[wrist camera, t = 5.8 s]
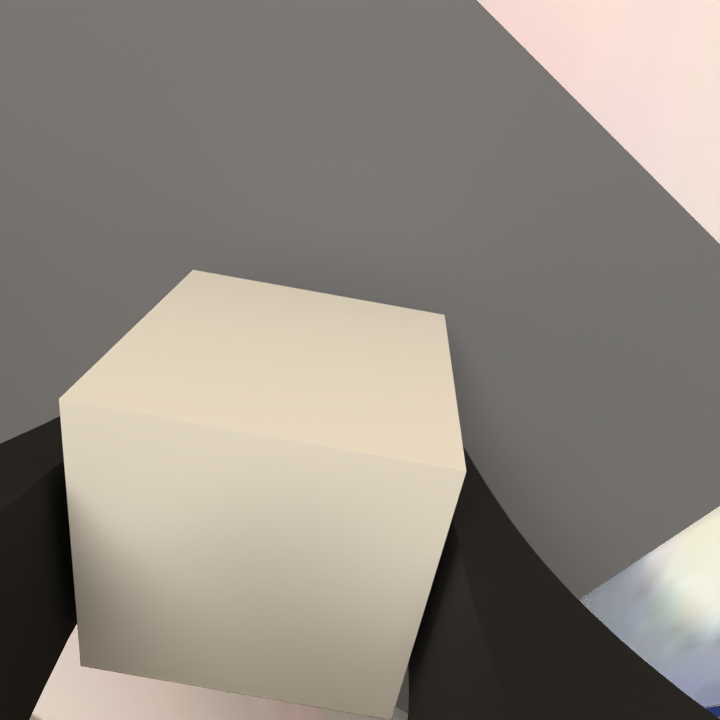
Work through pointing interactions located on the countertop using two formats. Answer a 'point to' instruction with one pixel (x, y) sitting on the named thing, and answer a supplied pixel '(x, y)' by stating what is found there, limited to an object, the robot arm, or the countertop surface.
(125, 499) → the cream cube
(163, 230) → the charcoal mat
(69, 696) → the countertop surface
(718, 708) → the beverage box
